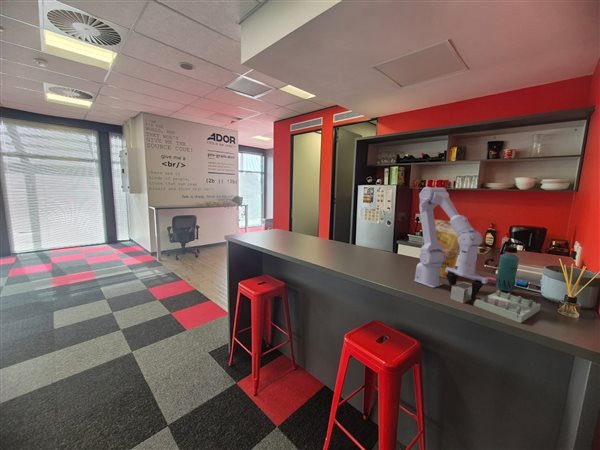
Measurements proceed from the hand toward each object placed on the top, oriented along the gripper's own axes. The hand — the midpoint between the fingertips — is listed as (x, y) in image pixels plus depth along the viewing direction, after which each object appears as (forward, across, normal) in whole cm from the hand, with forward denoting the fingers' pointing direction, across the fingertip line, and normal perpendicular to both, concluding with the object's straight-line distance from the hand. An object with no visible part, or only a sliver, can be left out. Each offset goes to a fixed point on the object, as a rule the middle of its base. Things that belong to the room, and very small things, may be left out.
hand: (462, 294), depth 100 cm
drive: (+2, 0, 0) cm, 2 cm away
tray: (+2, +12, +6) cm, 14 cm away
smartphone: (+2, -8, +35) cm, 36 cm away
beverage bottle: (+2, +6, +24) cm, 25 cm away
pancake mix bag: (+2, -22, +19) cm, 29 cm away
